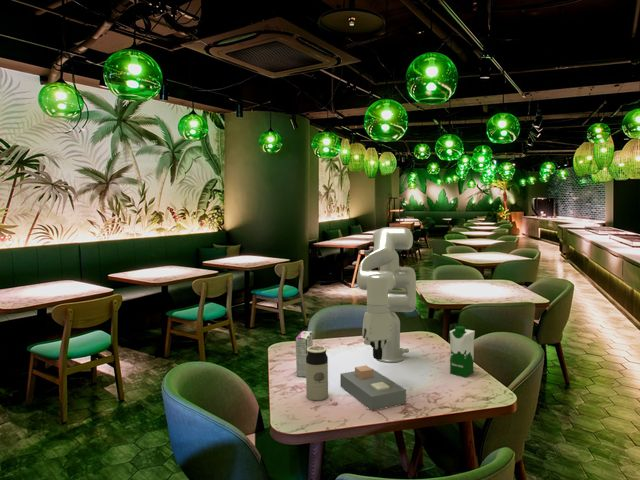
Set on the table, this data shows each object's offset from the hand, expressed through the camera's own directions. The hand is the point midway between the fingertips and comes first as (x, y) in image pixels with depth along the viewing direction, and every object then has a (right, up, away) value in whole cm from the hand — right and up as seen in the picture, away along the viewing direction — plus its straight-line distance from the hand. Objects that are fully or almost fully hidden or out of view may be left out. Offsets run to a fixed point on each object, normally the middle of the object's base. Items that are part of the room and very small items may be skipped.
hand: (377, 358), depth 163 cm
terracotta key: (-4, -11, +10) cm, 16 cm away
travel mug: (-22, -15, +4) cm, 27 cm away
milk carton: (+38, -13, +26) cm, 48 cm away
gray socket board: (-2, -15, +5) cm, 15 cm away
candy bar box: (-27, -14, +29) cm, 42 cm away
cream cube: (+1, -14, -1) cm, 14 cm away
